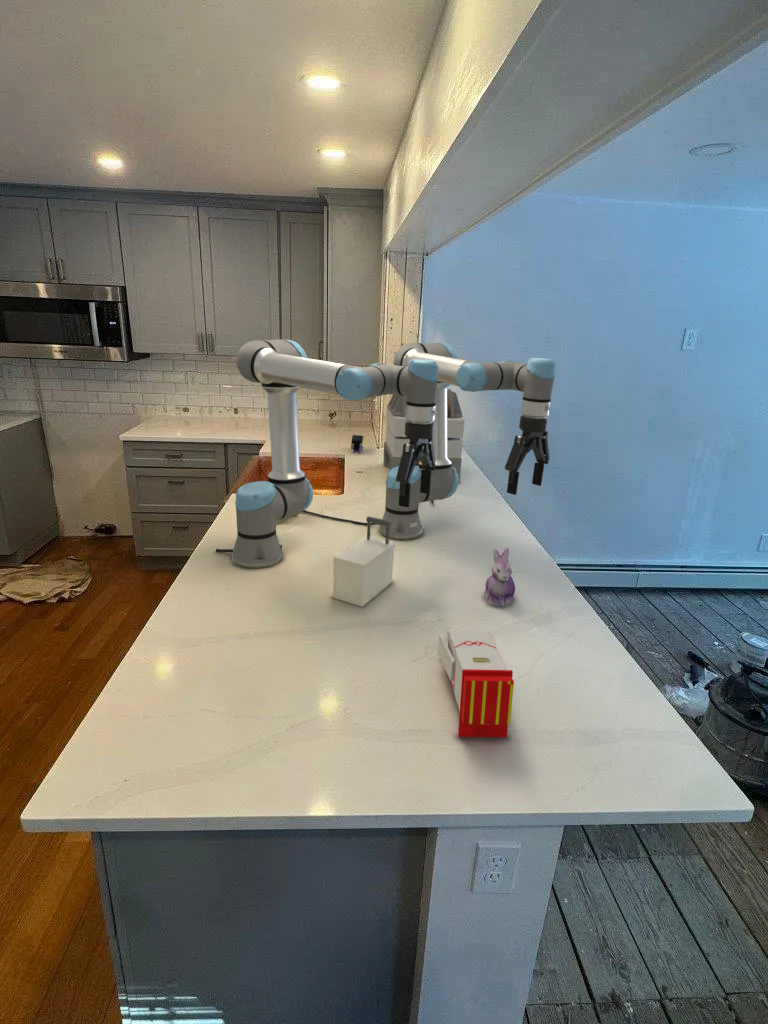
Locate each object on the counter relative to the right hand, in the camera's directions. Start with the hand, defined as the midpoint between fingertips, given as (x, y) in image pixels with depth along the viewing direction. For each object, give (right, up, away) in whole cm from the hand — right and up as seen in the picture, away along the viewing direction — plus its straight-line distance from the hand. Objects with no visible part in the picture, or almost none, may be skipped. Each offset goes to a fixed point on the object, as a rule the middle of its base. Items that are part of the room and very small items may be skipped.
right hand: (524, 489), depth 164 cm
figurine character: (-56, +27, +147) cm, 160 cm away
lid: (-46, -18, -8) cm, 50 cm away
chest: (-46, -29, -5) cm, 55 cm away
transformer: (-23, +12, +110) cm, 114 cm away
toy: (-23, -44, -46) cm, 68 cm away
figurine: (-9, -31, -7) cm, 33 cm away
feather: (-20, 0, +77) cm, 80 cm away
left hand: (-32, -3, -11) cm, 34 cm away
